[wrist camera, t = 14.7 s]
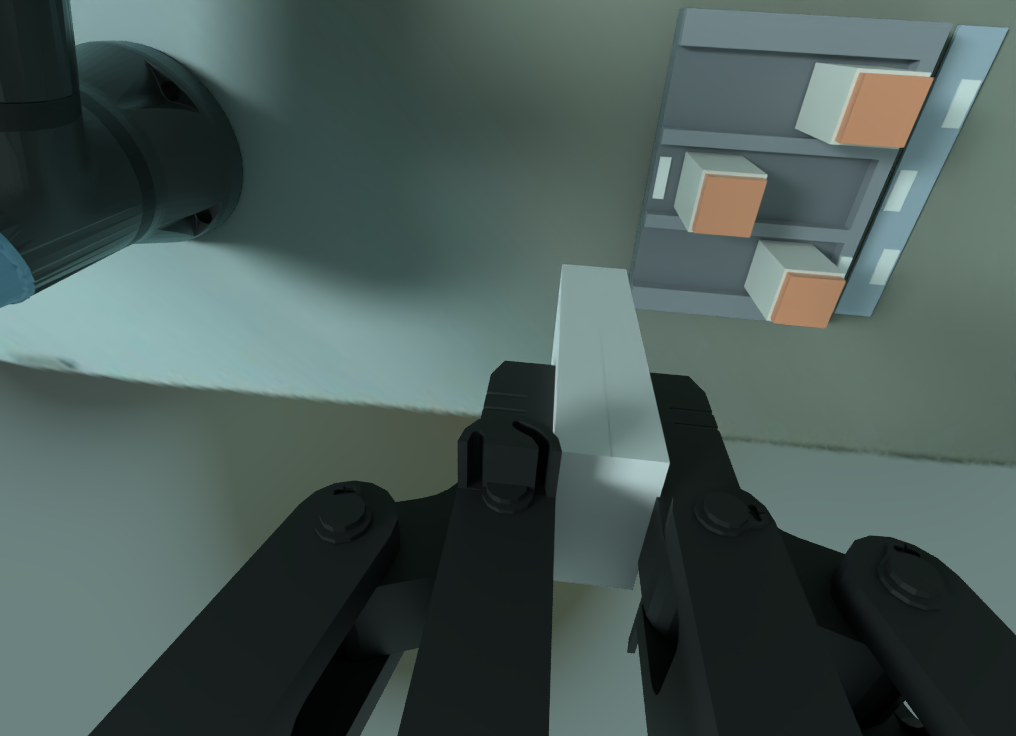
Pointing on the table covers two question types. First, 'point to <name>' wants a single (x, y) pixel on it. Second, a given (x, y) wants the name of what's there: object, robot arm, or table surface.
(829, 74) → the white orange-topped block
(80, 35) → the table surface
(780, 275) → the orange topped white block
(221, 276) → the table surface
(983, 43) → the label card
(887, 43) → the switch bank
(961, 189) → the table surface
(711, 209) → the orange-topped white block
